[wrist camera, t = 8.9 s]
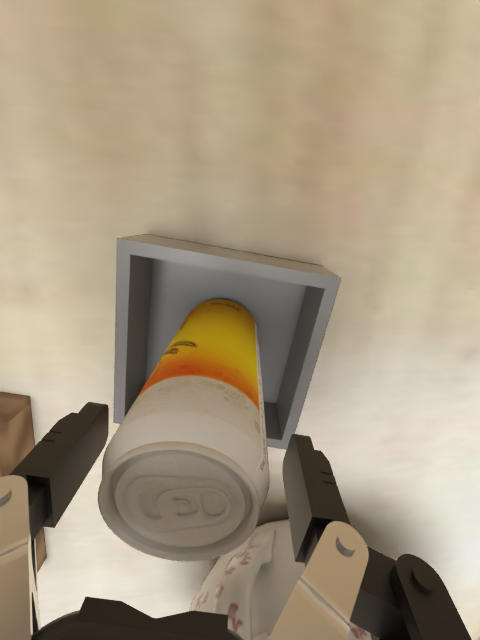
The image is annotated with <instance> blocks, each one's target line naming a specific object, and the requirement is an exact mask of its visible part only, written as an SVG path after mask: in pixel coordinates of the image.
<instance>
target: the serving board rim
mask: <svg viewBox="0 0 480 640" xmlns="http://www.w3.org/2000/svg"><path fill="white" fill-rule="evenodd" d="M34 447H35V444H34V434H33V425H32V415H31V405H30V397H29V396H23V395H16V394H10V393H4V392H0V477H4V476H8V475H9V474H10V473H11V472H12V471H13V470H14V469H15V468H16V467H17V465H18V464H19V463H20V462H21V461H22V460H23V459H24V458H25V457H26V456H27V455H28V453H29V452H30V451H31V450H32V449H33V448H34ZM35 545H36V565H37V573H38V571H39V569H40V568H41V566H42V564H43V563H44V561H45V559H46V549H45V540H44V530H43V527H42V528H41V530H40V531H39V533H38V534H37V536H36V537H35Z"/></svg>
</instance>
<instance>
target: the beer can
mask: <svg viewBox="0 0 480 640" xmlns="http://www.w3.org/2000/svg"><path fill="white" fill-rule="evenodd" d="M268 489H269V465H268V453H267V440H266V428H265V415H264V403H263V390H262V378H261V365H260V353H259V341H258V330H257V326H256V323H255V321H254V319H253V317H252V316H251V314H250V313H249V312H248V311H247V310H246V309H245V308H243V307H242V306H241V305H239V304H237V303H235V302H232V301H229V300H223V299H214V300H209V301H205V302H203V303H201V304H199V305H197V306H196V307H195V308H193V309H192V310H191V311H190V312H189V314H188V315H187V317H186V318H185V320H184V322H183V323H182V325H181V327H180V328H179V330H178V331H177V333H176V335H175V336H174V338H173V340H172V341H171V343H170V345H169V346H168V348H167V349H166V351H165V353H164V354H163V356H162V358H161V359H160V361H159V363H158V364H157V366H156V367H155V369H154V371H153V372H152V374H151V376H150V377H149V379H148V380H147V382H146V384H145V385H144V387H143V389H142V390H141V392H140V394H139V395H138V397H137V398H136V400H135V402H134V403H133V405H132V407H131V408H130V410H129V411H128V413H127V415H126V416H125V418H124V420H123V421H122V423H121V425H120V426H119V428H118V429H117V431H116V433H115V434H114V436H113V438H112V439H111V441H110V443H109V444H108V446H107V448H106V451H105V454H104V457H103V464H102V481H101V484H100V487H99V492H98V504H99V509H100V512H101V515H102V517H103V519H104V521H105V522H106V524H107V525H108V527H109V528H110V529H111V530H112V532H113V533H114V534H116V535H117V536H118V537H119V538H120V539H121V540H123V541H124V542H125V543H127V544H128V545H130V546H131V547H133V548H135V549H137V550H139V551H141V552H144V553H146V554H149V555H152V556H155V557H158V558H162V559H168V560H174V561H202V560H208V559H213V558H216V557H220V556H222V555H225V554H227V553H229V552H231V551H233V550H235V549H237V548H238V547H240V546H241V545H242V544H243V543H245V542H246V541H247V540H248V538H249V537H250V536H251V535H252V533H253V532H254V530H255V528H256V526H257V523H258V519H259V513H260V509H261V507H262V505H263V502H264V500H265V498H266V496H267V492H268Z"/></svg>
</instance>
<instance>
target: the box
mask: <svg viewBox="0 0 480 640" xmlns="http://www.w3.org/2000/svg"><path fill="white" fill-rule="evenodd" d="M340 282H341V278H340V277H339V276H337V275H335V274H334V273H332V272H331V271H329V270H327V269H326V268H324V267H323V266H321V265H316V264H310V263H305V262H299V261H294V260H288V259H283V258H277V257H272V256H266V255H260V254H255V253H249V252H244V251H238V250H233V249H227V248H221V247H216V246H210V245H205V244H199V243H194V242H188V241H182V240H177V239H171V238H166V237H160V236H155V235H149V234H142V235H136V236H129V237H122V238H117V272H116V323H115V373H114V423H118V424H121V423H122V421H123V420H124V418H125V416H126V415H127V413H128V411H129V410H130V408H131V407H132V405H133V403H134V402H135V400H136V398H137V397H138V395H139V394H140V392H141V390H142V389H143V387H144V385H145V384H146V382H147V380H148V379H149V377H150V376H151V374H152V372H153V371H154V369H155V367H156V366H157V364H158V363H159V361H160V359H161V358H162V356H163V354H164V353H165V351H166V349H167V348H168V346H169V345H170V343H171V341H172V340H173V338H174V336H175V335H176V333H177V331H178V330H179V328H180V327H181V325H182V323H183V322H184V320H185V318H186V317H187V315H188V314H189V312H190V311H191V310H192V309H193V308H195V307H196V306H197V305H199V304H201V303H203V302H205V301H209V300H214V299H223V300H229V301H232V302H235V303H237V304H239V305H241V306H242V307H243V308H245V309H246V310H247V311H248V312H249V313H250V314H251V316H252V317H253V319H254V321H255V323H256V326H257V330H258V341H259V353H260V365H261V378H262V390H263V403H264V415H265V428H266V440H267V447H274V448H280V449H287V447H288V444H289V441H290V437H291V435H292V434H295V431H296V427H297V424H298V421H299V418H300V414H301V411H302V408H303V404H304V401H305V398H306V394H307V391H308V388H309V384H310V381H311V378H312V374H313V371H314V368H315V364H316V361H317V358H318V354H319V351H320V348H321V345H322V341H323V338H324V335H325V331H326V328H327V325H328V321H329V318H330V315H331V311H332V308H333V305H334V301H335V298H336V295H337V291H338V288H339V285H340Z"/></svg>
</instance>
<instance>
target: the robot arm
mask: <svg viewBox="0 0 480 640" xmlns="http://www.w3.org/2000/svg"><path fill="white" fill-rule="evenodd" d="M107 438H108V405H106V404H99V403H93V402H88V403H87V404H86V405H85V406H84V407H83V408H82V409H81V411H80V412H79V413H70V414H69V415H67V416H65V417H64V418H62V419H60V420H59V421H58V422H57V423H56V424H55V425H54V426H53V427H52V428H51V430H50V431H49V433H47V434H46V435H45V436H44V437H43V438H42V440H41V441H40V442H39V443H38V444H37V445H36V446H35V447H34V448H33V449H32V450H31V451H30V452H29V453H28V455H27V456H26V457H25V458H24V459H23V460H22V461H21V462H20V463H19V464H18V465H17V467H16V468H15V469H14V470H13V471H12V472H11V473H10V474H9V475H8V476H4V477H0V640H244V639H243V638H242V637H240V636H239V635H238V634H236V633H235V632H234V631H232V630H230V629H228V615H225V614H217V613H209V612H202V611H189V612H185V613H180V614H176V615H171V616H167V617H162V618H152V617H150V616H148V615H146V614H144V613H142V612H140V611H138V610H137V609H135V608H133V607H131V606H129V605H127V604H125V603H123V602H122V601H115V600H107V599H99V598H91V597H85V600H84V602H83V604H82V607H81V609H80V610H79V611H75V612H72V613H69V614H66V615H64V616H62V617H60V618H58V619H56V620H54V621H52V622H50V623H49V624H47V625H45V626H44V627H42V628H41V626H40V613H39V602H38V585H37V565H36V545H35V537H36V536H37V534H38V533H39V531H40V530H41V528H42V527H43V526H45V527H52V528H55V526H56V524H57V523H58V521H59V520H60V518H61V516H62V515H63V513H64V511H65V510H66V508H67V507H68V505H69V503H70V502H71V500H72V498H73V497H74V495H75V494H76V492H77V490H78V489H79V487H80V485H81V484H82V482H83V481H84V479H85V477H86V476H87V474H88V472H89V471H90V469H91V468H92V466H93V464H94V463H95V461H96V459H97V458H98V456H99V455H100V453H101V451H102V450H103V448H104V446H105V444H106V441H107ZM283 480H284V487H285V494H286V502H287V509H288V516H289V523H290V530H291V538H292V545H293V552H294V559H295V562H301V563H305V570H304V572H303V574H302V576H301V578H299V580H298V582H297V583H296V585H295V587H294V589H293V591H292V593H291V595H290V597H289V599H288V601H287V603H286V605H285V607H284V609H283V611H282V613H281V615H280V617H279V619H278V621H277V623H276V625H275V627H274V629H273V631H272V633H271V635H270V637H269V639H268V640H347V638H348V635H349V631H350V625H349V621H350V622H352V623H353V624H355V625H357V626H359V627H360V628H362V629H364V630H366V631H367V632H369V633H370V635H371V639H372V640H471V638H470V635H469V633H468V631H467V629H466V627H465V625H464V623H463V621H462V619H461V617H460V615H459V613H458V611H457V609H456V607H455V605H454V603H453V601H452V599H451V597H450V595H449V593H448V591H447V589H446V587H445V585H444V583H443V581H442V580H441V578H440V577H439V575H438V574H437V573H436V571H435V570H434V569H433V568H432V567H431V566H430V565H428V564H427V563H426V562H425V561H423V560H422V559H420V558H418V557H416V556H414V555H411V554H403V555H401V556H400V557H399V558H398V560H397V561H395V560H393V559H391V558H389V557H387V556H385V555H383V554H381V553H379V552H377V551H375V550H373V549H371V548H370V547H368V546H367V545H366V543H365V541H364V539H363V538H362V536H361V535H360V534H359V533H358V532H357V531H356V530H355V529H354V528H353V527H351V525H350V523H349V520H348V517H347V514H346V511H345V508H344V505H343V502H342V499H341V496H340V493H339V490H338V487H337V485H336V481H335V478H334V476H333V472H332V469H331V466H330V463H329V461H328V460H327V458H326V457H325V456H324V454H323V453H322V452H321V451H318V450H314V448H313V444H312V441H311V438H310V437H309V436H304V435H297V434H292V435H291V437H290V441H289V444H288V447H287V451H286V454H285V457H284V461H283Z"/></svg>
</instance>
